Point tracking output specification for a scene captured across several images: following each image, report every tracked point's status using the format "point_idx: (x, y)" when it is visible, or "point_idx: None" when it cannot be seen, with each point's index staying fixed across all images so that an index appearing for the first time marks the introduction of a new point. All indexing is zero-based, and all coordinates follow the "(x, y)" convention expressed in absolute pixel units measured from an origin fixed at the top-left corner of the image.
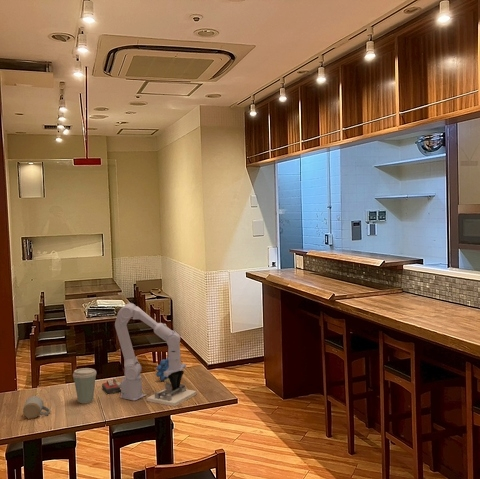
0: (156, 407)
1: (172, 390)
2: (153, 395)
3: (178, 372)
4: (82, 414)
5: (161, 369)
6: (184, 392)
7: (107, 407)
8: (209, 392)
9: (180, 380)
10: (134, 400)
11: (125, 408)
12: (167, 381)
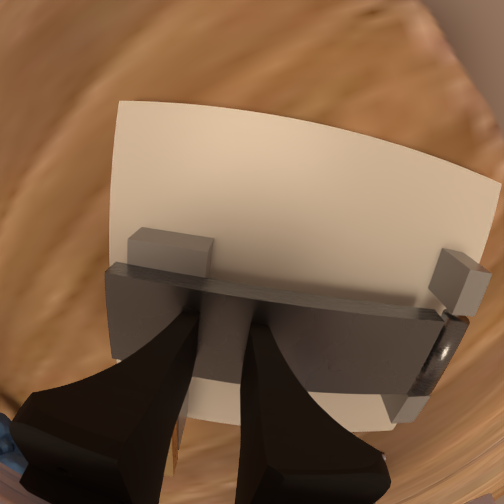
0: (493, 304)
1: (347, 327)
2: (346, 423)
3: (136, 493)
4: (486, 471)
5: None
6: (201, 216)
7: (447, 470)
8: (66, 28)
9: (152, 349)
10: (385, 456)
11: (474, 425)
12: (173, 454)
